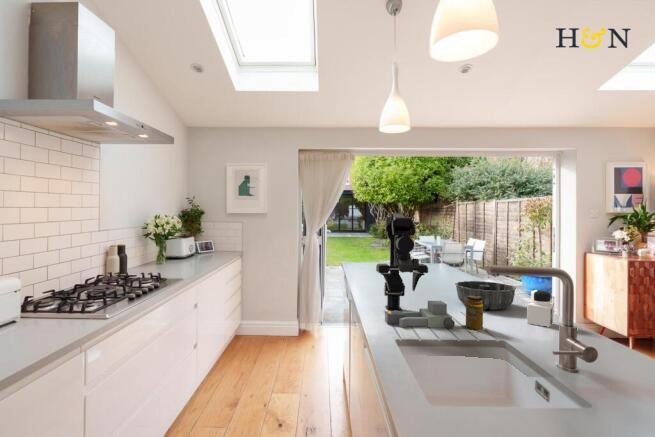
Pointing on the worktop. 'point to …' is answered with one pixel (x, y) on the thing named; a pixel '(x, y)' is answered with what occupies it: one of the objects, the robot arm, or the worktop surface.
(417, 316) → the grey blocky piece
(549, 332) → the worktop surface
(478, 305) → the condiment
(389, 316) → the grey rectangular block
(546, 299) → the container
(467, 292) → the bundt pan
